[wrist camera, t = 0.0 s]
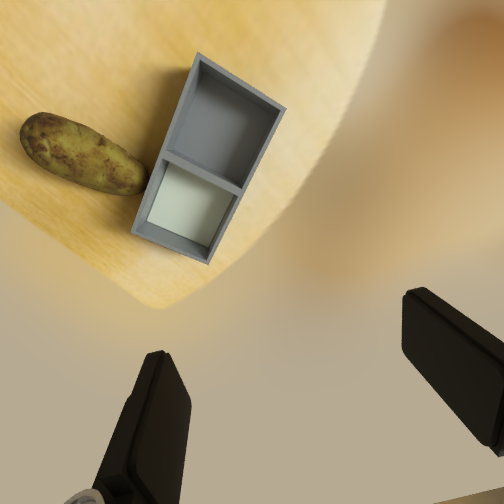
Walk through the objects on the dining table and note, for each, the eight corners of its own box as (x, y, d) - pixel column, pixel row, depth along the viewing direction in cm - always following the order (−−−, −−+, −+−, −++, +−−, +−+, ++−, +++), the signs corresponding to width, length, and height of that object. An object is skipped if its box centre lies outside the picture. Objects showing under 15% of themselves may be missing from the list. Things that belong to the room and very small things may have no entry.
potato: (122, 214, 38) (97, 230, 31) (42, 142, 33) (-9, 141, 26) (161, 176, 36) (145, 184, 29) (83, 96, 32) (41, 81, 25)
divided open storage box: (202, 67, 32) (197, 51, 26) (277, 114, 35) (286, 108, 29) (143, 220, 39) (130, 232, 33) (210, 249, 41) (208, 265, 36)
